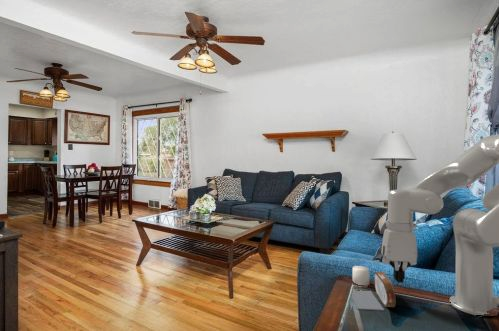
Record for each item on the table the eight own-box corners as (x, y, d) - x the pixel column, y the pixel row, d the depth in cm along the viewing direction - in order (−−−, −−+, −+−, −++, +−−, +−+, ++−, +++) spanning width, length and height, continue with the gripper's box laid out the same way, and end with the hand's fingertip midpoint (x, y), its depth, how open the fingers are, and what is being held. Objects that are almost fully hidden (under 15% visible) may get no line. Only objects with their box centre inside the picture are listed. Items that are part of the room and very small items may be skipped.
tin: (396, 312, 90) (396, 285, 90) (385, 311, 91) (385, 284, 91) (382, 291, 105) (382, 268, 105) (372, 290, 106) (372, 267, 106)
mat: (370, 291, 105) (370, 290, 105) (384, 310, 91) (384, 309, 91) (347, 290, 106) (347, 289, 106) (358, 309, 92) (358, 308, 92)
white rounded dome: (366, 281, 114) (366, 266, 114) (371, 287, 108) (371, 271, 108) (350, 280, 115) (350, 265, 114) (354, 287, 109) (354, 271, 109)
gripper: (418, 225, 100) (416, 277, 100) (373, 223, 102) (372, 275, 102) (429, 230, 93) (428, 287, 93) (380, 228, 94) (379, 284, 94)
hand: (398, 281), depth 97 cm, fingers closed
